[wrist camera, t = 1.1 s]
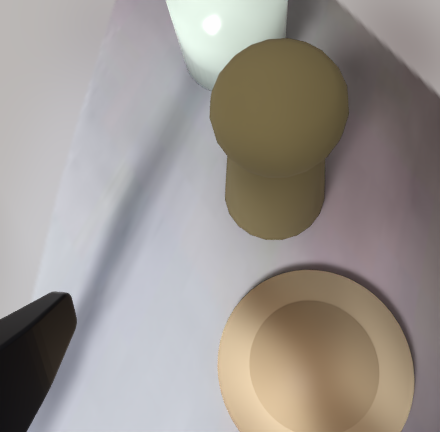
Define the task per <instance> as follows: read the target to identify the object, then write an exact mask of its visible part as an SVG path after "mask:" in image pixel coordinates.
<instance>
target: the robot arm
mask: <svg viewBox="0 0 440 432" xmlns="http://www.w3.org/2000/svg"><path fill="white" fill-rule="evenodd" d="M76 325H77V317H76V313H75V309H74V305H73V301H72V297H71V295H70V294H69V293H65V292H51V293H49V294H47V295H45V296H43V297H41V298H39V299H37V300H36V301H34V302H32V303H30V304H28V305H26V306H24V307H23V308H21V309H19V310H17V311H15V312H13V313H11V314H10V315H8V316H6V317H4V318H2V319H0V432H27V430H28V428H29V426H30V425H31V423H32V421H33V419H34V417H35V415H36V414H37V412H38V410H39V408H40V406H41V404H42V403H43V401H44V399H45V397H46V395H47V393H48V391H49V389H50V387H51V385H52V383H53V381H54V379H55V376H56V374H57V372H58V369H59V367H60V365H61V362H62V360H63V357H64V355H65V353H66V350H67V348H68V346H69V343H70V341H71V338H72V336H73V334H74V331H75V329H76Z"/></svg>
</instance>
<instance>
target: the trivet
mask: <svg viewBox="0 0 440 432" xmlns="http://www.w3.org/2000/svg"><path fill="white" fill-rule="evenodd" d="M218 378H219V384H220V389H221V394H222V397H223V400H224V403H225V406H226V408H227V410H228V412H229V414H230V416H231V419H232V420H233V422H234V423H235V425H236V427H237V428H238V430H239V431H240V432H401V431H402V429H403V427H404V424H405V422H406V420H407V418H408V415H409V412H410V409H411V405H412V400H413V394H414V369H413V362H412V357H411V352H410V349H409V346H408V343H407V340H406V338H405V336H404V334H403V331H402V329H401V327H400V325H399V324H398V322H397V321H396V319H395V318H394V316H393V315H392V313H391V312H390V311H389V310H388V308H387V307H386V306H385V305H384V304H383V303H382V302H381V301H380V300H379V299H378V298H377V297H376V296H375V295H374V294H373V293H371V292H370V291H368V290H367V289H366V288H364V287H363V286H361V285H360V284H358V283H356V282H354V281H353V280H350V279H348V278H346V277H343V276H341V275H338V274H334V273H331V272H326V271H319V270H298V271H291V272H287V273H283V274H280V275H277V276H274V277H272V278H270V279H268V280H266V281H264V282H262V283H260V284H259V285H258V286H256V287H255V288H254V289H252V290H251V291H250V292H249V293H248V294H247V295H246V296H245V297H244V298H242V300H241V301H240V302H239V303H238V305H237V306H236V307H235V309H234V310H233V312H232V314H231V315H230V317H229V319H228V321H227V323H226V325H225V328H224V330H223V334H222V337H221V340H220V346H219V352H218Z"/></svg>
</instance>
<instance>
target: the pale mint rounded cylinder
mask: <svg viewBox="0 0 440 432" xmlns="http://www.w3.org/2000/svg"><path fill="white" fill-rule="evenodd" d="M166 3H167V6H168V9H169V12H170V16H171V19H172V22H173V25H174V28H175V32H176V35H177V38H178V41H179V45H180V48H181V51H182V54H183V58H184V61H185V64H186V67H187V70H188V72H189V74H190V75H191V77H192V78H193V79H194V80H195V81H196V82H197V83H198V84H199V85H200V86H202V87H203V88H205V89H207V90H209V91H212V90H213V87H214V85H215V82H216V80H217V77H218V75H219V73H220V72H221V71H222V70H223V68H224V67H225V66H226V65H227V64H228V63H229V61H230V60H231V59H232V58H233V57H234V56H235V55H236V54H238V53H239V52H241V51H242V50H244V49H245V48H247V47H248V46H250V45H252V44H255V43H258V42H261V41H264V40H268V39H281V38H286V24H287V8H288V0H166Z"/></svg>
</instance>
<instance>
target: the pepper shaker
mask: <svg viewBox="0 0 440 432" xmlns="http://www.w3.org/2000/svg"><path fill="white" fill-rule="evenodd" d="M348 115H349V107H348V92H347V85H346V83H345V80H344V78H343V76H342V74H341V72H340V69H339V68H338V67H337V66H336V65H335V63H334V62H333V61H332V60H331V59H330V58H329V57H328V56H327V55H326V54H325V53H324V52H323V51H322V50H320V49H318V48H316V47H314V46H312V45H311V44H309V43H307V42H303V41H299V40H294V39H289V38H281V39H268V40H264V41H261V42H258V43H255V44H252V45H250V46H248V47H247V48H245V49H244V50H242V51H241V52H239V53H238V54H236V55H235V56H234V57H233V58H232V59H231V60H230V61H229V63H228V64H227V65H226V66H225V67H224V68H223V70H222V71H221V72H220V73H219V75H218V77H217V80H216V82H215V85H214V87H213V90H212V93H211V100H210V120H211V124H212V127H213V130H214V133H215V136H216V140H217V143H218V144H219V145H220V147H221V148H222V149H223V151H224V152H225V153H226V155H227V171H226V187H225V201H226V204H227V207H228V211H229V214H230V215H231V216H232V218H233V219H234V221H235V222H236V223H237V225H238V226H239V227H241V228H242V229H244V230H245V231H246V232H248V233H249V234H250V235H253V236H256V237H259V238H262V239H266V240H283V239H286V238H289V237H293V236H296V235H298V234H300V233H301V232H303V231H304V230H305V229H307V228H308V227H310V226H311V225H312V223H313V222H314V221H315V219H316V218H317V217H318V215H319V214H320V211H321V208H322V205H323V201H324V187H325V158H326V157H327V156H328V155H329V154H330V152H331V151H332V150H333V148H334V147H335V146H336V144H337V143H338V142H339V141H340V138H341V136H342V134H343V131H344V128H345V124H346V121H347V118H348Z"/></svg>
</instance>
